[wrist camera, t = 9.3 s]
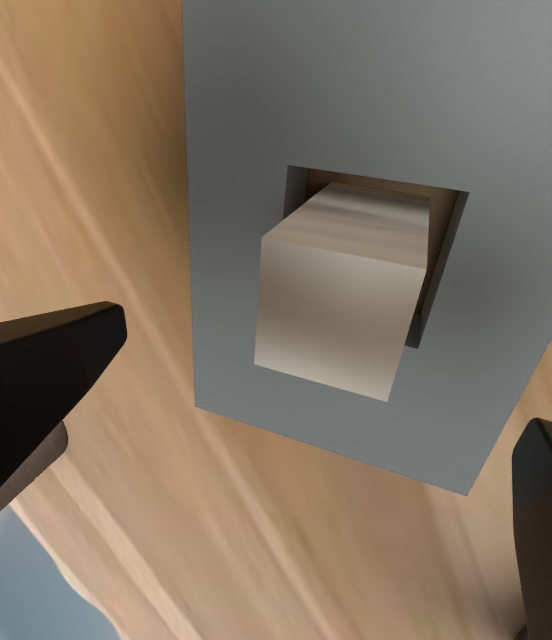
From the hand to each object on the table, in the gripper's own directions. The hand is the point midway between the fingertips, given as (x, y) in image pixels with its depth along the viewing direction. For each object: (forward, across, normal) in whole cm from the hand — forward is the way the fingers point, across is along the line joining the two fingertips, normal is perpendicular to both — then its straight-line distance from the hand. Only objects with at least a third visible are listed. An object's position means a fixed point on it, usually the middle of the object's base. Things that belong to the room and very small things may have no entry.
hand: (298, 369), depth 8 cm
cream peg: (+10, 0, 0) cm, 10 cm away
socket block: (+10, 0, 0) cm, 10 cm away
